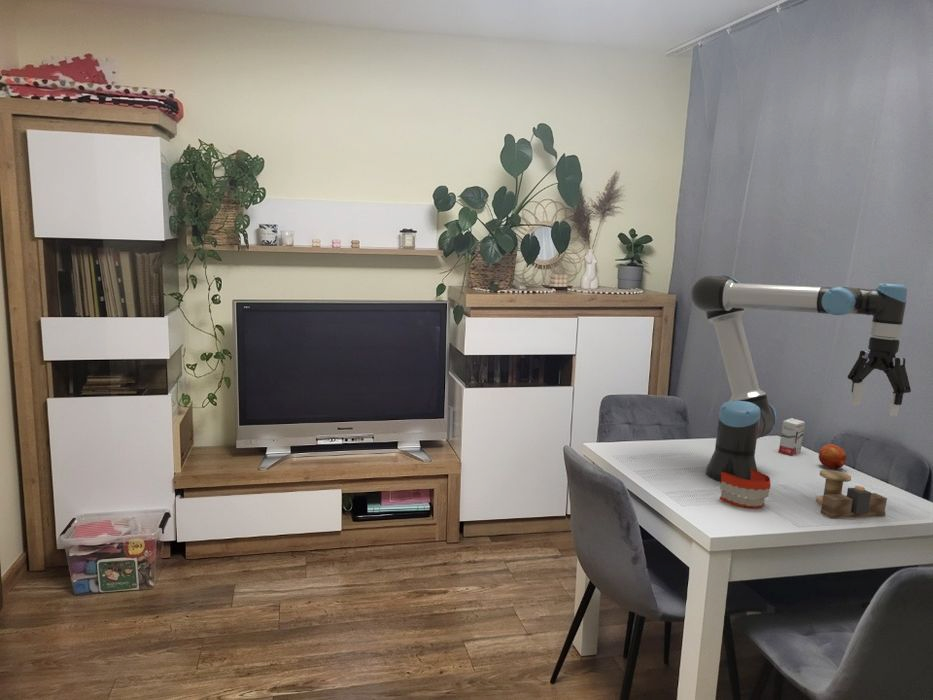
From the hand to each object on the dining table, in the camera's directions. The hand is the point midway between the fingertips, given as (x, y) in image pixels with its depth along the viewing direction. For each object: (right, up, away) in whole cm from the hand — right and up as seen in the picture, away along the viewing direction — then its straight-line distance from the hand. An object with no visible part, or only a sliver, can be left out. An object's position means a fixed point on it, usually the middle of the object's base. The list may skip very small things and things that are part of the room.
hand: (873, 409), depth 207 cm
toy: (-40, -26, -8) cm, 48 cm away
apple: (+5, -23, +33) cm, 41 cm away
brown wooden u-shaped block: (-12, -28, -11) cm, 32 cm away
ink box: (-2, -20, +50) cm, 54 cm away
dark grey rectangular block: (-12, -27, -12) cm, 32 cm away
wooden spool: (-14, -27, -4) cm, 30 cm away
